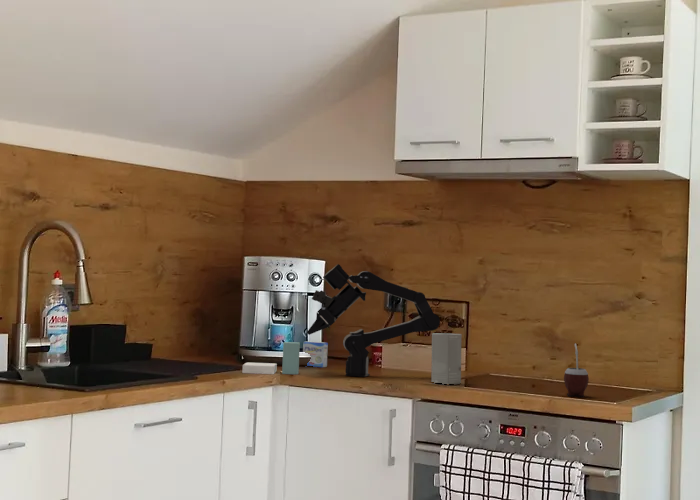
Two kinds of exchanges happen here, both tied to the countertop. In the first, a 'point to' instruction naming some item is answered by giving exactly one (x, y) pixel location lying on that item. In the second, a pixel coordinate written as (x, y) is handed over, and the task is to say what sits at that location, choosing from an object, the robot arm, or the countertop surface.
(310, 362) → the medicine box
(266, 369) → the grey plinth
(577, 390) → the mate gourd
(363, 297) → the robot arm
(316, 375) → the countertop surface
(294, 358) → the teal block
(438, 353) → the skincare box
